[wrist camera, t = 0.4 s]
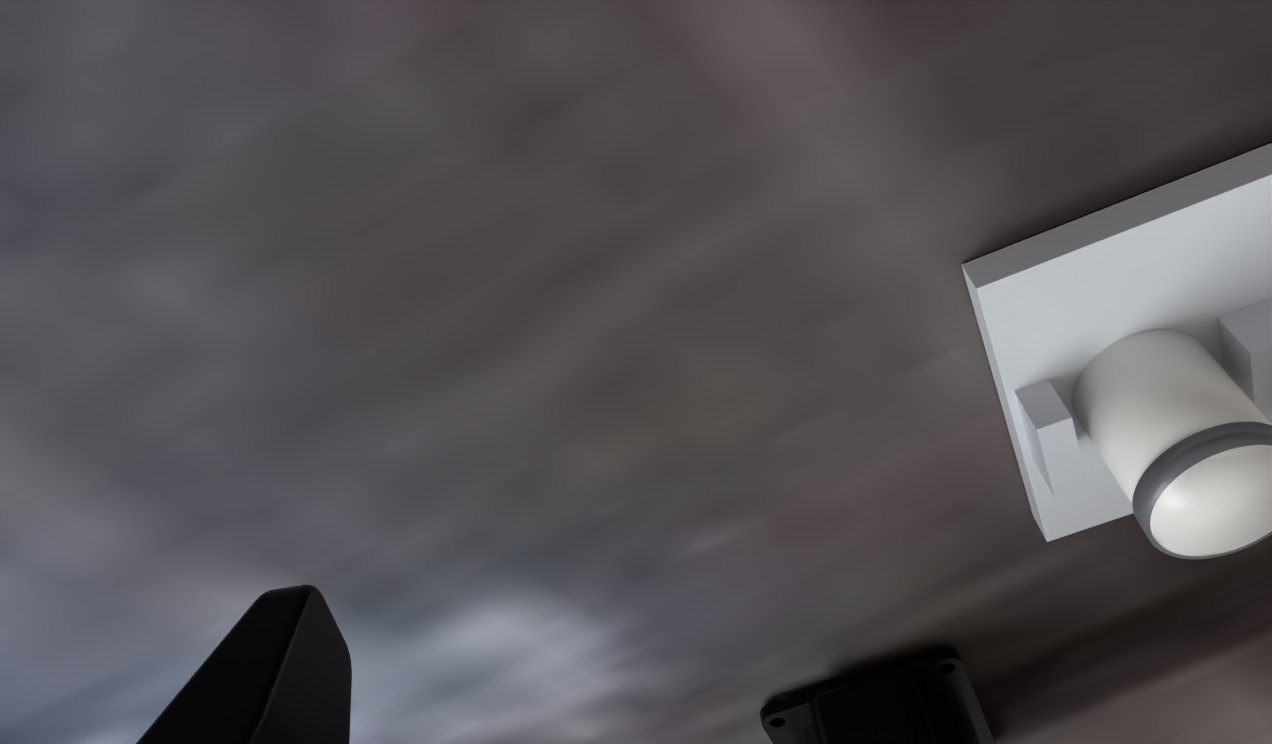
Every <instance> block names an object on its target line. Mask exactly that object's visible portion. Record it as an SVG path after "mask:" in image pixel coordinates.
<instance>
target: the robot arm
mask: <svg viewBox="0 0 1272 744" xmlns="http://www.w3.org/2000/svg"><path fill="white" fill-rule="evenodd" d="M351 683H352V668H351V659H350V654H349V650H348V647H347V645H346V642H345V640H344V638H343V636H342V634H341V632H340V630H339V628H338V626H337V624H336V622H335V620H334V618H333V616H332V614H331V612H330V610H329V608H328V605H327V603H326V601H325V599H324V597H323V596H322V594H321V592H320V591H319V590H318V589H317V588H316V587H314V586H312V585H301V586H294V587H288V588H282V589H275V590H270V591H267V592H265V593H264V594H262V595H261V596H260V597H259V598H258V599H257V600H256V601H255V602H254V603H253V604H252V606H251V607H250V608H249V609H248V610H247V611H246V613H245V614H244V615H243V616H242V617H241V619H240V620H239V621H238V622H237V623H236V625H235V626H234V627H233V628H232V629H231V631H230V632H229V633H228V634H227V635H226V637H225V638H224V639H223V640H222V641H221V643H220V644H219V645H218V646H217V647H216V649H215V650H214V651H213V652H212V653H211V655H210V656H209V657H208V658H207V659H206V661H205V662H204V663H203V664H202V665H201V667H200V668H199V669H198V670H197V671H196V672H195V674H194V675H193V676H192V677H191V678H190V680H189V681H188V682H187V683H186V684H185V686H184V687H183V688H182V689H181V690H180V692H179V693H178V694H177V695H176V696H175V698H174V699H173V700H172V701H171V702H170V704H169V705H168V706H167V707H166V708H165V710H164V711H163V712H162V713H161V714H160V716H159V717H158V718H157V719H156V720H155V722H154V723H153V724H152V725H151V726H150V728H149V729H148V730H147V731H146V732H145V733H144V735H143V736H142V737H141V738H140V739H139V741H138V742H137V743H136V744H349V738H350V710H351ZM760 717H761V722H762V726H763V728H764V730H765V732H766V733H767V735H768V736H769V738H770V739H771V741H772V742H773V744H995V742H994V739H993V737H992V734H991V732H990V729H989V727H988V724H987V722H986V719H985V717H984V714H983V712H982V709H981V707H980V704H979V702H978V699H977V697H976V694H975V692H974V689H973V687H972V685H971V682H970V680H969V677H968V675H967V672H966V670H965V667H964V665H963V662H962V660H961V657H960V655H959V652H958V651H957V650H956V649H953V648H941V649H937V650H934V651H931V652H928V653H925V654H922V655H919V656H916V657H912V658H909V659H906V660H903V661H900V662H897V663H894V664H891V665H888V666H885V667H881V668H878V669H875V670H872V671H869V672H866V673H863V674H860V675H857V676H853V677H850V678H847V679H844V680H841V681H838V682H835V683H832V684H829V685H826V686H822V687H819V688H816V689H813V690H810V691H807V692H804V693H801V694H798V695H794V696H791V697H788V698H785V699H782V700H779V701H776V702H773V703H770V704H768V705H765V706H764V707H763V708H762V709H761V711H760Z"/></svg>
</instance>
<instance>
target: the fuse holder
mask: <svg viewBox="0 0 1272 744" xmlns="http://www.w3.org/2000/svg"><path fill="white" fill-rule="evenodd" d="M962 269H963V272H964V276H965V279H966V283H967V286H968V290H969V293H970V297H971V300H972V304H973V307H974V311H975V314H976V318H977V321H978V325H979V328H980V332H981V335H982V339H983V342H984V346H985V349H986V353H987V356H988V360H989V363H990V367H991V370H992V374H993V377H994V381H995V384H996V388H997V391H998V395H999V398H1000V402H1001V405H1002V409H1003V412H1004V416H1005V419H1006V423H1007V426H1008V430H1009V433H1010V437H1011V440H1012V444H1013V447H1014V451H1015V454H1016V458H1017V461H1018V465H1019V468H1020V472H1021V475H1022V479H1023V482H1024V486H1025V489H1026V493H1027V496H1028V500H1029V503H1030V507H1031V510H1032V514H1033V516H1034V518H1035V520H1036V522H1037V524H1038V526H1039V528H1040V530H1041V531H1042V533H1043V535H1044V537H1045V539H1046V541H1047V542H1049V541H1052V540H1055V539H1058V538H1061V537H1064V536H1067V535H1070V534H1073V533H1075V532H1078V531H1081V530H1084V529H1087V528H1090V527H1093V526H1096V525H1099V524H1102V523H1105V522H1108V521H1111V520H1114V519H1117V518H1120V517H1123V516H1126V515H1129V514H1132V513H1134V516H1135V518H1136V520H1137V521H1138V523H1139V524H1140V526H1141V528H1142V529H1143V531H1144V532H1145V534H1146V535H1147V537H1148V539H1149V540H1150V542H1151V543H1152V544H1153V545H1154V546H1155V547H1156V548H1157V549H1158V550H1160V551H1161V552H1163V553H1165V554H1167V555H1170V556H1173V557H1177V558H1182V559H1208V558H1215V557H1220V556H1224V555H1228V554H1232V553H1235V552H1238V551H1240V550H1243V549H1246V548H1248V547H1250V546H1252V545H1255V544H1256V543H1258V542H1260V541H1262V540H1264V539H1266V538H1267V537H1269V536H1270V535H1272V143H1270V144H1267V145H1265V146H1262V147H1260V148H1257V149H1255V150H1252V151H1250V152H1247V153H1245V154H1242V155H1239V156H1237V157H1234V158H1232V159H1229V160H1227V161H1224V162H1222V163H1219V164H1216V165H1214V166H1211V167H1209V168H1206V169H1204V170H1201V171H1199V172H1196V173H1194V174H1191V175H1188V176H1186V177H1183V178H1181V179H1178V180H1176V181H1173V182H1171V183H1168V184H1166V185H1163V186H1160V187H1158V188H1155V189H1153V190H1150V191H1148V192H1145V193H1143V194H1140V195H1138V196H1135V197H1132V198H1130V199H1127V200H1125V201H1122V202H1120V203H1117V204H1115V205H1112V206H1110V207H1107V208H1104V209H1102V210H1099V211H1097V212H1094V213H1092V214H1089V215H1087V216H1084V217H1082V218H1079V219H1076V220H1074V221H1071V222H1069V223H1066V224H1064V225H1061V226H1059V227H1056V228H1054V229H1051V230H1048V231H1046V232H1043V233H1041V234H1038V235H1036V236H1033V237H1031V238H1028V239H1026V240H1023V241H1020V242H1018V243H1015V244H1013V245H1010V246H1008V247H1005V248H1003V249H1000V250H998V251H995V252H992V253H990V254H987V255H985V256H982V257H980V258H977V259H975V260H972V261H969V262H967V263H964V264H962Z"/></svg>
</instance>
